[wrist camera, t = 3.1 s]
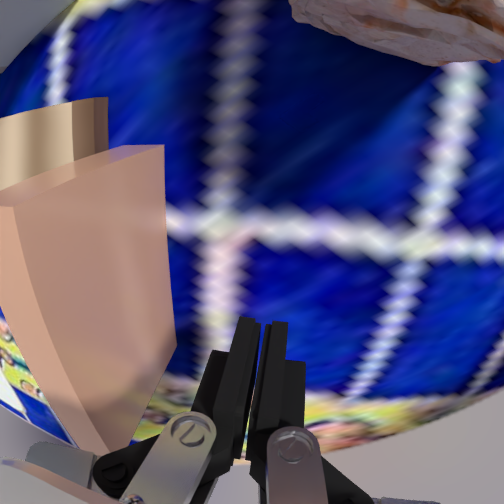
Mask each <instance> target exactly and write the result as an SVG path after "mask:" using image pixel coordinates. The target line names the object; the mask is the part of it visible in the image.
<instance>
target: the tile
mask: <svg viewBox="0 0 504 504" xmlns="http://www.w3.org/2000/svg"><path fill="white" fill-rule="evenodd" d="M0 306H1V308H2V311H3V313H4V316H5V318H6V321H7V323H8V325H9V328H10V330H11V332H12V335H13V337H14V339H15V341H16V343H17V345H18V347H19V349H20V352H21V354H22V356H23V358H24V360H25V362H26V363H27V365H28V367H29V369H30V371H31V373H32V375H33V377H34V378H35V380H36V382H37V384H38V386H39V387H40V389H41V391H42V392H43V394H44V396H45V397H46V399H47V401H48V402H49V404H50V406H51V407H52V409H53V410H54V412H55V413H56V415H57V417H58V418H59V420H60V421H61V423H62V424H63V426H64V427H65V428H66V430H67V431H68V433H69V434H70V436H71V437H72V438H73V440H74V441H75V442H76V444H77V445H78V446H79V448H80V449H81V450H84V451H90V452H94V453H95V455H100V456H104V455H105V454H108V453H111V452H114V451H117V450H119V449H122V448H125V447H128V445H129V443H130V441H131V439H132V437H133V435H134V433H135V430H136V428H137V426H138V424H139V422H140V420H141V418H142V416H143V414H144V412H145V410H146V408H147V406H148V403H149V401H150V399H151V397H152V395H153V393H154V391H155V389H156V387H157V385H158V383H159V381H160V379H161V377H162V375H163V373H164V371H165V369H166V367H167V365H168V363H169V361H170V359H171V357H172V355H173V353H174V351H175V349H176V347H177V341H176V333H175V324H174V315H173V306H172V296H171V285H170V273H169V261H168V246H167V230H166V209H165V179H164V145H123V146H120V147H117V148H113V149H110V150H107V151H103V152H100V153H97V154H94V155H91V156H88V157H85V158H82V159H79V160H76V161H73V162H70V163H67V164H65V165H62V166H59V167H57V168H54V169H51V170H49V171H46V172H43V173H41V174H38V175H36V176H33V177H31V178H28V179H26V180H24V181H21V182H19V183H17V184H14V185H12V186H10V187H7V188H5V189H3V190H1V191H0Z"/></svg>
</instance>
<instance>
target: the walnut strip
mask: <svg viewBox="0 0 504 504" xmlns="http://www.w3.org/2000/svg"><path fill="white" fill-rule="evenodd" d="M72 139H73V157H74V161H76V160H79V159H82V158H85V157H88V156H91V155H94V154H97V153H100V152H103V151H107V150H109V148H108V97H99V98H89V99H83V100H77V101H72Z"/></svg>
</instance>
